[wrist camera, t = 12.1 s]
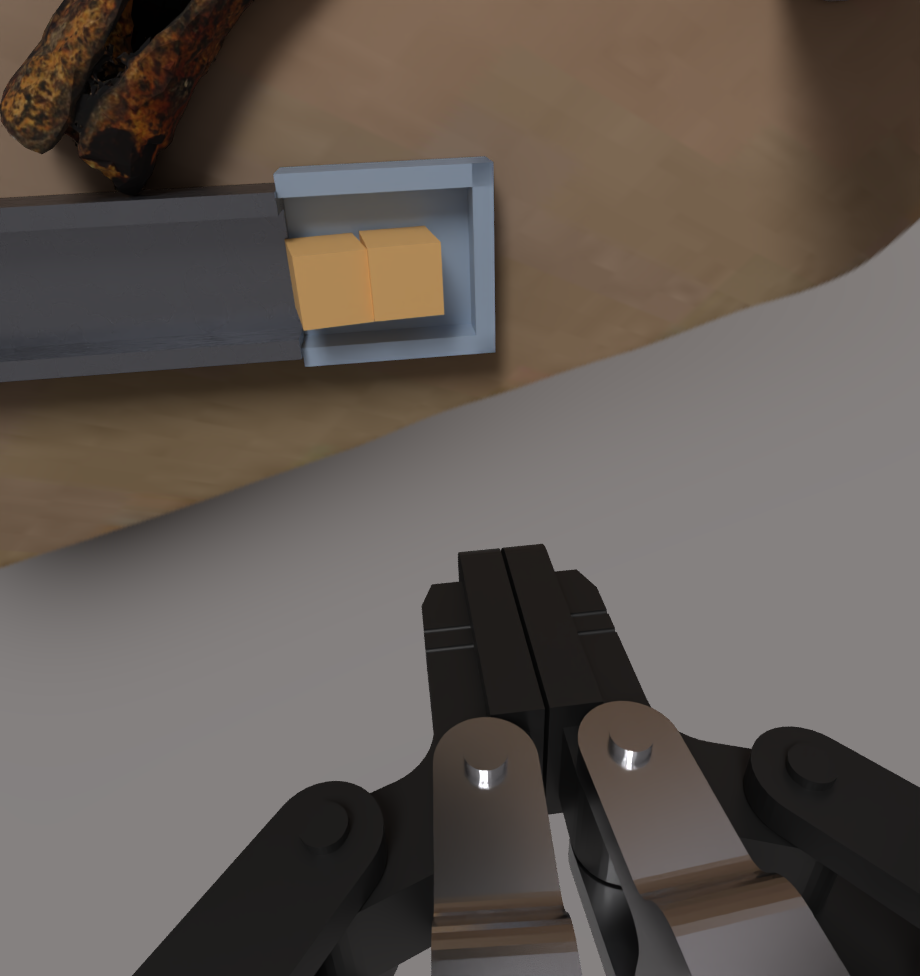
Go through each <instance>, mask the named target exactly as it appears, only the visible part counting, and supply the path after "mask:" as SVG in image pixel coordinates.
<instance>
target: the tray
mask: <svg viewBox="0 0 920 976" xmlns="http://www.w3.org/2000/svg"><path fill="white" fill-rule="evenodd" d="M273 175H274V181H275V187H276V193H277V198H283V201H284V207H285V213H286V220H287V226H288V232H289V238H300V237H311V236H321V235H331V234H342V233H353V234H354V236H355V237H356V238H357V239H358V240H359V241H360V239H359V231H364V230H376V229H389V228H401V227H414V226H426V227H427V228H428V230H429V231H430V232H431V233H432V234H433V235H434V236H435V237H436V238H437V239H438V240H439V241H440V242H441V257H442V277H443V298H444V315H435V316H425V317H415V318H406V319H396V320H386V321H377V322H375V320H374V322H368V323H360V324H353V325H345V326H337V327H329V328H321V329H313V330H306V331H304V332H305V338H304V343H303V347H302V351H303V357H304V363H305V367H311V366H324V365H337V364H350V363H363V362H376V361H389V360H402V359H415V358H428V357H441V356H454V355H467V354H480V353H493V352H495V272H494V178H493V162H492V161H491V160H489V159H488V158H487V157H485V156H482V157H464V158H445V159H427V160H408V161H389V162H371V163H352V164H334V165H315V166H296V167H280V168H279V169H278V170H277V171H276V172H275V173H274V174H273Z"/></svg>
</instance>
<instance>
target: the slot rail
mask: <svg viewBox="0 0 920 976" xmlns="http://www.w3.org/2000/svg"><path fill="white" fill-rule="evenodd" d="M284 239H290V238H289V232H288V226H287V220H286V213H285V207H284V201H283V198H277V193H276V187H275V183H262V184H244V185H226V186H208V187H190V188H172V189H154V190H141V193H140V192H139V193H137V194H136V195H134V196H133V195H126V194H124V193H121V192H119V191H118V192H100V193H82V194H64V195H46V196H28V197H10V198H0V382H9V381H22V380H35V379H48V378H62V377H75V376H88V375H101V374H114V373H127V372H141V371H154V370H167V369H180V368H193V367H207V366H220V365H233V364H246V363H259V362H272V361H286V360H299V359H302V357H303V351H302V347H303V343H304V338H305V332H304V330H303V327H302V324H301V321H300V318H299V316H298V313H297V310H296V307H295V302H294V295H293V289H292V283H291V277H290V271H289V265H288V259H287V253H286V246H285V240H284Z"/></svg>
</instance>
